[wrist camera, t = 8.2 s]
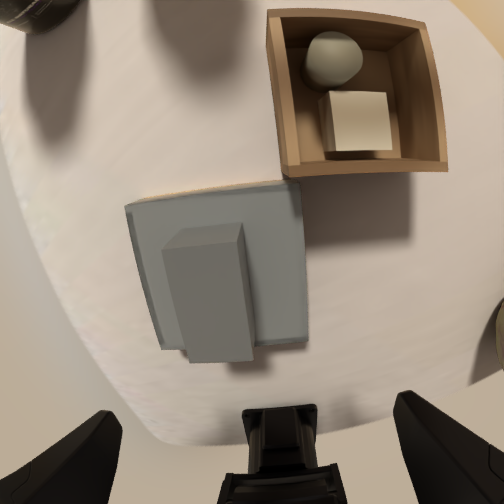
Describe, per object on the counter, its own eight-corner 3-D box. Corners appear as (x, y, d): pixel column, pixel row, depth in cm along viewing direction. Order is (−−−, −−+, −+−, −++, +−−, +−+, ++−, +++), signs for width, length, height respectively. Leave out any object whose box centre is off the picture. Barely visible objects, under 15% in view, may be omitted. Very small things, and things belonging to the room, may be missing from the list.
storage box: (404, 165, 16) (448, 172, 12) (281, 171, 17) (289, 177, 12) (389, 48, 14) (425, 22, 9) (265, 45, 14) (267, 9, 10)
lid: (303, 321, 19) (316, 379, 14) (170, 330, 20) (145, 385, 15) (294, 179, 16) (311, 191, 11) (140, 199, 17) (92, 220, 12)
